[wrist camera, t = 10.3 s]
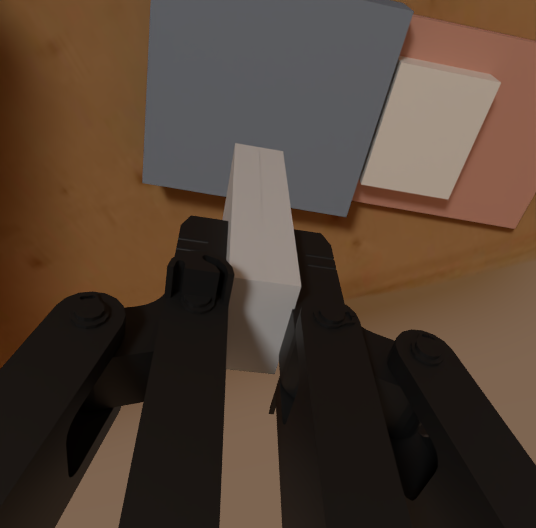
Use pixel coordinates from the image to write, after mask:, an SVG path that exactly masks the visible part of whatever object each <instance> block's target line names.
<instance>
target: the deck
mask: <svg viewBox="0 0 536 528" xmlns="http://www.w3.org/2000/svg"><path fill="white" fill-rule="evenodd" d="M413 12H414V11H413V10H411V9H410V8H409V7H407V6H406V5H405V4H404V3H399V2H395V1H390V0H151V8H150V30H149V52H148V73H147V95H146V117H145V139H144V160H143V182H142V183H146V184H152V185H158V186H164V187H170V188H176V189H182V190H188V191H194V192H200V193H206V194H212V195H218V196H224V197H226V196H227V190H228V184H229V178H230V172H231V165H232V159H233V153H234V147H235V143H238V144H244V145H249V146H255V147H261V148H267V149H273V150H279V151H283V154H284V162H285V169H286V177H287V184H288V191H289V199H290V206H291V208H295V209H301V210H306V211H312V212H318V213H324V214H330V215H336V216H342V217H346V216H347V213H348V210H349V207H350V204H351V201H352V198H353V195H354V192H355V189H356V186H357V183H358V180H359V177H360V174H361V171H362V168H363V165H364V162H365V159H366V156H367V153H368V149H369V146H370V143H371V140H372V137H373V134H374V131H375V128H376V125H377V122H378V119H379V116H380V113H381V110H382V107H383V104H384V101H385V98H386V95H387V92H388V89H389V86H390V82H391V79H392V76H393V73H394V70H395V67H396V64H397V61H398V58H399V55H400V52H401V49H402V46H403V43H404V40H405V37H406V34H407V31H408V28H409V25H410V22H411V19H412V15H413Z"/></svg>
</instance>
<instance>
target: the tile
mask: <svg viewBox="0 0 536 528" xmlns="http://www.w3.org/2000/svg"><path fill="white" fill-rule="evenodd" d="M500 84H501V82H500V81H499V80H497V79H496V78H495V77H493V76H492V75H491V74H487V73H482V72H477V71H472V70H467V69H462V68H457V67H453V66H448V65H443V64H438V63H433V62H428V61H423V60H418V59H413V58H408V57H403V56H399V58H398V61H397V64H396V67H395V70H394V73H393V76H392V79H391V82H390V86H389V89H388V92H387V95H386V98H385V101H384V104H383V107H382V110H381V113H380V116H379V119H378V122H377V125H376V128H375V131H374V134H373V137H372V140H371V143H370V146H369V149H368V153H367V156H366V159H365V162H364V165H363V168H362V171H361V174H360V177H359V180H360V183H361V185H367V186H373V187H378V188H384V189H390V190H396V191H401V192H407V193H413V194H419V195H425V196H430V197H436V198H442V199H449V197H450V195H451V192H452V190H453V188H454V186H455V184H456V181H457V179H458V177H459V175H460V173H461V170H462V168H463V166H464V164H465V162H466V159H467V157H468V155H469V153H470V151H471V148H472V146H473V144H474V142H475V139H476V137H477V135H478V133H479V131H480V128H481V126H482V124H483V122H484V120H485V117H486V115H487V113H488V111H489V109H490V106H491V104H492V102H493V100H494V98H495V95H496V93H497V91H498V89H499V87H500Z"/></svg>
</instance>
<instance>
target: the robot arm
mask: <svg viewBox="0 0 536 528" xmlns="http://www.w3.org/2000/svg"><path fill="white" fill-rule="evenodd" d="M333 258H334V257H333V253H332V248H331V245H330V244H329V243H328V241H327V240H326V239H325V238H324V237H323V235H322V234H321V233H315V232H308V231H301V230H294V228H293V221H292V214H291V206H290V199H289V191H288V184H287V177H286V169H285V162H284V154H283V151H279V150H273V149H267V148H261V147H255V146H249V145H244V144H238V143H235V147H234V153H233V159H232V165H231V172H230V178H229V184H228V190H227V196H226V202H225V208H224V214H223V220H218V219H211V218H204V217H198V216H190V217H189V218H188V219H187V220H186V221H185V222H184V223H183V224H182V225H181V228H180V233H179V238H178V243H177V248H176V253H175V257H173V258H172V259H171V261H170V262H169V264H168V266H167V276H166V286H165V294H164V295H163V296H162V297H161V298H159V299H158V300H156V301H154V302H152V303H149V304H147V305H141V306H136V307H127V308H124V306H123V305H122V304H121V303H120V302H119V301H118V300H117V299H116V298H114V297H112V296H110V295H108V294H105V293H98V292H83V293H77V294H74V295H72V296H69V297H66V298H65V299H64V300H62V301H61V302H60V303H58V304H57V305H56V306H55V307H54V308H53V310H52V311H51V312H50V313H49V314H48V315H47V316H46V318H45V319H44V320H43V321H42V322H41V323H40V324H39V326H38V327H37V328H36V329H35V330H34V331H33V332H32V334H31V335H30V336H29V337H28V338H27V339H26V340H25V342H24V343H23V344H22V345H21V346H20V347H19V348H18V350H17V351H16V352H15V353H14V354H13V355H12V356H11V358H10V359H9V360H8V361H7V362H6V363H5V364H4V366H3V367H2V368H1V369H0V528H55V526H56V524H57V523H58V521H59V519H60V517H61V515H62V513H63V512H64V509H65V508H66V506H67V504H68V503H69V501H70V499H71V497H72V496H73V494H74V492H75V490H76V488H77V487H78V485H79V483H80V481H81V479H82V478H83V476H84V474H85V472H86V470H87V469H88V467H89V465H90V463H91V461H92V460H93V458H94V456H95V454H96V453H97V451H98V449H99V447H100V445H101V444H102V442H103V440H104V438H105V436H106V434H107V433H108V431H109V429H110V427H111V426H112V424H113V422H114V420H115V418H116V417H117V415H118V413H119V411H120V408H121V406H123V405H129V404H134V403H140V402H144V403H143V408H142V413H141V418H140V423H139V428H138V433H137V438H136V443H135V448H134V453H133V458H132V463H131V468H130V473H129V478H128V483H127V488H126V493H125V498H124V503H123V508H122V513H121V518H120V523H119V528H219V522H220V520H219V519H220V498H221V474H222V449H223V426H224V402H225V401H224V400H225V378H226V369H230V370H239V371H249V372H258V373H268V374H275V371H276V368H277V365H278V361H279V367H280V378H279V380H278V383H277V387H276V390H275V393H274V396H273V399H272V402H271V406H270V411H269V414H274V411H275V408H276V413H277V432H278V453H279V472H280V491H281V510H282V528H536V465H535V464H534V462H533V461H532V459H531V458H530V457H529V455H528V454H527V453H526V451H525V450H524V449H523V447H522V446H521V444H520V443H519V442H518V440H517V439H516V437H515V436H514V435H513V433H512V432H511V430H510V429H509V428H508V426H507V425H506V424H505V422H504V421H503V419H502V418H501V417H500V415H499V414H498V412H497V411H496V410H495V408H494V407H493V405H492V404H491V403H490V401H489V400H488V399H487V397H486V396H485V394H484V393H483V392H482V390H481V389H480V387H479V386H478V385H477V384H476V382H475V381H474V379H473V378H472V376H471V375H470V374H469V372H468V371H467V369H466V368H465V367H464V365H463V364H462V363H461V361H460V360H459V358H458V357H457V356H456V354H455V353H454V352H453V350H452V349H451V348H450V347H449V346H448V345H447V344H446V343H445V342H444V341H443V340H441V339H440V338H438V337H436V336H435V335H433V334H430V333H428V332H424V331H421V330H408V331H404V332H402V333H401V334H400V335H399V336H398V337H397V338H396V340H395V341H393V340H391V339H388V338H386V337H383V336H380V335H377V334H375V333H372V332H370V331H368V330H366V329H364V328H363V327H361V324H360V321H359V319H358V317H357V315H356V313H355V312H354V311H353V310H352V309H350V308H349V307H348V306H347V305H345V304H344V300H343V295H342V291H341V287H340V283H339V278H338V274H337V270H336V265H335V261H334V260H333Z"/></svg>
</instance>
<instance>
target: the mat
mask: <svg viewBox="0 0 536 528" xmlns="http://www.w3.org/2000/svg"><path fill="white" fill-rule="evenodd" d="M399 56H403V57H408V58H413V59H418V60H423V61H428V62H433V63H438V64H443V65H448V66H453V67H457V68H462V69H467V70H472V71H477V72H482V73H487V74H491V75H492V76H493V77H495V78H496V79H497V80H499V81H500V82H501V84H500V87H499V89H498V91H497V93H496V95H495V98H494V100H493V102H492V104H491V106H490V109H489V111H488V113H487V115H486V117H485V120H484V122H483V124H482V126H481V128H480V131H479V133H478V135H477V137H476V139H475V142H474V144H473V146H472V148H471V151H470V153H469V155H468V157H467V159H466V162H465V164H464V166H463V168H462V170H461V173H460V175H459V177H458V179H457V181H456V184H455V186H454V188H453V190H452V192H451V195H450V197H449V199H442V198H436V197H430V196H425V195H419V194H413V193H407V192H401V191H396V190H390V189H384V188H378V187H373V186H367V185H361V183H360V180H358V183H357V186H356V189H355V192H354V195H353V198H352V201H356V202H362V203H368V204H374V205H380V206H385V207H391V208H397V209H403V210H409V211H414V212H420V213H426V214H432V215H437V216H443V217H449V218H455V219H461V220H466V221H472V222H478V223H484V224H490V225H495V226H501V227H507V228H513V229H515V228H516V226H517V224H518V223H519V221H520V219H521V217H522V216H523V214H524V212H525V210H526V209H527V207H528V205H529V203H530V201H531V200H532V198H533V196H534V194H535V193H536V41H534V40H529V39H525V38H520V37H516V36H511V35H506V34H502V33H497V32H493V31H488V30H483V29H479V28H474V27H470V26H465V25H460V24H456V23H451V22H447V21H442V20H437V19H433V18H428V17H424V16H419V15H415V14H413V15H412V19H411V22H410V25H409V28H408V31H407V34H406V37H405V40H404V43H403V46H402V49H401V52H400V55H399Z"/></svg>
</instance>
